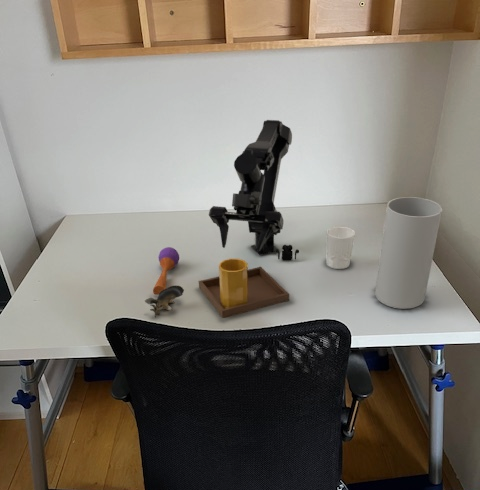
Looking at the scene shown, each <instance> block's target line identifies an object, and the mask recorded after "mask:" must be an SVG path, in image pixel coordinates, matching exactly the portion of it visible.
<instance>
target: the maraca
mask: <svg viewBox="0 0 480 490" xmlns="http://www.w3.org/2000/svg"><path fill="white" fill-rule="evenodd" d="M157 258H158V262H159V265H160V267H161V269H162V271H161V273H160V275H159V277H158V279H157V281H156V283H155V284H154V287H153V289H152V293H153V294H154V295H159V293H160V292H161V291H163V290H164V289H166V288H167V280H168V279H167V278H168V272H169V271H170V270H172V269H174V268H175V267H176V266H177V265H178V264H179V261H180V254H179V252H178V250H177V249H176V248H174V247H171V246H167V247H163V248H162V249H161V250H160V251H159V254H158V257H157Z"/></svg>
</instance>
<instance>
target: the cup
mask: <svg viewBox="0 0 480 490" xmlns="http://www.w3.org/2000/svg"><path fill="white" fill-rule="evenodd" d="M248 265H249V264H248V263H247V262H246V260H244V259H240V258H227V259H224V260H222V261H220V262H219V265H218V275H219V276H218V277H219V279H220V300H221V306H222V307H223V308H224V309H225V308H229V307H233V306H237V305H241V304H245V303H248V270H249V269H248V267H249V266H248Z"/></svg>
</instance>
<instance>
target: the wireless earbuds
mask: <svg viewBox="0 0 480 490" xmlns="http://www.w3.org/2000/svg"><path fill="white" fill-rule="evenodd" d="M293 248H294V247H293V245H292V244H288V245H287V244H283V245H282V247H281V250H282V251H281V252H280V250H279V249H278V248H277V250H275V252H274V253H275V254H277V260H280V259H281V260H282V261H284V262H285V261H286V262H287V261H288V262H289V261H290V262H292V261H293V256H294V260H297V254H299V253H300V250H299V249H295V251H294V253H293ZM280 253H281V254H280ZM293 254H294V255H293Z"/></svg>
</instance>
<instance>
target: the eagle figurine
mask: <svg viewBox="0 0 480 490" xmlns="http://www.w3.org/2000/svg"><path fill="white" fill-rule="evenodd" d="M184 291H185V289H184V288H183V287H182V286H181V285H170V286H169V287H166V289H164V290H163V291H161V292H160V293H159V294H157V295H158V296H157V298H154V297H148V298H145V299H144V302H145V304H147V305H150V307H153V308H150V309H149V310H150V311H152V312H154V318H157V316H159V314H160V311H162V310H167V311H173V309H172V307H171V306H170V305H169V304H176V302H175V301H174V300H175V299H176V298H180V297H182V296H183V295H184Z"/></svg>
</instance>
